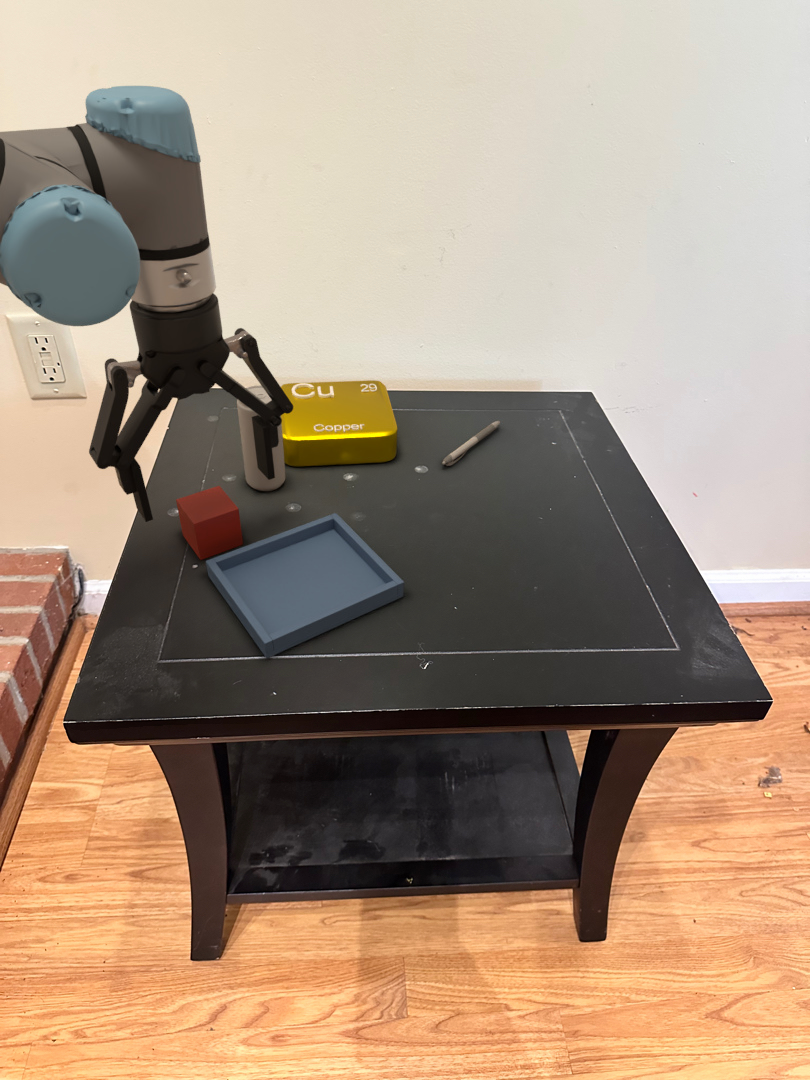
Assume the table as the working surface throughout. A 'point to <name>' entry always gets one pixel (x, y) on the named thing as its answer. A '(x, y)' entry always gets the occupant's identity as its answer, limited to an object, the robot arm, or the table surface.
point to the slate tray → (303, 583)
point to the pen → (469, 444)
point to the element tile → (338, 424)
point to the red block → (210, 522)
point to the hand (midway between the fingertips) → (208, 492)
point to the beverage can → (249, 452)
